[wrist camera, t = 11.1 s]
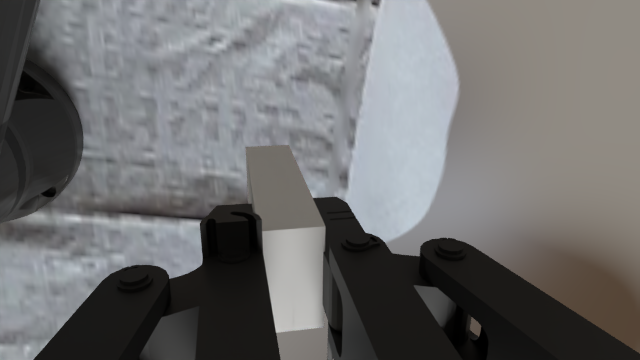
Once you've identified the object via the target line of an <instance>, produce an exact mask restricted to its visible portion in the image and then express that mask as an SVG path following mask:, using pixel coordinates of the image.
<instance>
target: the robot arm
mask: <svg viewBox="0 0 640 360" xmlns="http://www.w3.org/2000/svg"><path fill="white" fill-rule="evenodd" d="M39 4H40V0H0V223H2V222H6V221H10V220H14V219H17V218H21V217H24V216H27V215H29V214H32V213H34V212H36V211H38V210H40V209H42V208H43V207H45V206H46V205H48V204H49V203H50V202H52V201H53V200H54V199H55V198H56V197H57V196H58V195H59V194H60V193H61V192H62V191H63V190H64V189H65V188H66V186H67V185H68V184H69V183H70V181H71V180H72V178H73V177H74V175H75V173H76V171H77V169H78V167H79V164H80V161H81V157H82V151H83V134H82V128H81V123H80V120H79V117H78V114H77V112H76V110H75V107H74V105H73V104H72V102H71V100H70V98H69V97H68V95H67V94H66V93H65V91H64V90H63V89H62V88H61V86H60V85H59V84H58V83H57V82H56V81H55V80H54V79H53V78H52V77H51V76H50V75H49V74H48V73H46V72H45V71H44V70H43V69H41V68H40V67H38V66H37V65H35V64H34V63H32V62H31V61H29V60H27V59H26V55H27V51H28V47H29V43H30V39H31V35H32V31H33V27H34V23H35V20H36V16H37V12H38V8H39ZM246 165H247V186H248V204H236V205H220V206H216V207H215V208H214V209H213V210H212V211H211V212H210V213H209V215H208V216H206V217H205V218H203V219H202V221H201V223H200V231H201V243H202V254H203V262H202V265H201V266H200V267H198V268H197V269H196V270H194V271H192V272H190V273H188V274H185V275H182V276H179V277H175V278H171V279H169V275H168V274H167V272H166V270H164V269H162V268H160V267H158V266H152V265H134V266H131V267H125V268H123V269H121V270H119V271H116V272H114V273H112V274H110V275H109V276H108V277H107V278H105V279H104V280H103V281H102V282H101V283H100V284H99V285H98V286H97V288H96V289H95V290H94V291H93V292H92V293H91V294H90V296H89V297H88V298H87V299H86V300H85V301H84V302H83V304H82V305H81V306H80V307H79V308H78V309H77V311H76V312H75V313H74V314H73V315H72V316H71V317H70V319H69V320H68V321H67V322H66V323H65V324H64V325H63V327H62V328H61V329H60V330H59V331H58V332H57V333H56V335H55V336H54V337H53V338H52V339H51V340H50V341H49V343H48V344H47V345H46V346H45V347H44V348H43V349H42V351H41V352H40V353H39V354H38V355H37V356H36V357H35V359H34V360H280V354H279V348H278V342H277V336H276V332H286V331H294V330H303V329H312V328H320V327H324V310H325V313H326V316H327V319H328V356H327V357H328V358H327V360H332V359H334V360H640V354H639V353H638V352H636V351H635V350H633V349H632V348H630V347H629V346H627V345H625V344H624V343H622V342H621V341H619V340H618V339H616V338H615V337H613V336H611V335H610V334H608V333H607V332H605V331H604V330H602V329H601V328H599V327H597V326H596V325H594V324H593V323H591V322H590V321H588V320H587V319H585V318H583V317H582V316H580V315H579V314H577V313H576V312H574V311H572V310H571V309H569V308H567V307H566V306H565V305H563V304H562V303H560V302H559V301H557V300H555V299H554V298H552V297H551V296H549V295H548V294H546V293H545V292H543V291H541V290H540V289H538V288H537V287H535V286H534V285H532V284H531V283H529V282H527V281H526V280H524V279H523V278H521V277H520V276H518V275H516V274H515V273H513V272H511V271H510V270H509V269H507V268H506V267H504V266H503V265H501V264H499V263H498V262H496V261H495V260H493V259H492V258H490V257H489V256H487V255H485V254H484V253H482V252H481V251H479V250H477V249H476V248H474V247H473V246H471V245H469V244H467V243H465V242H462V241H458V240H456V239H452V238H448V239H447V238H440V239H432V240H429V241H426V242H425V243H423V245H422V246H421V248H420V256H409V255H399V254H393V253H391V251H390V250H389V248H388V247H387V245H386V244H385V242H384V241H383V240H381V239H380V238H379V237H377V236H374V235H372V234H368V233H365V231H364V230H363V228H362V227H361V225H360V223H359V222H358V220H357V219H356V217H355V215H354V214H353V212H352V210H351V209H350V207H349V205H348V204H347V203H346V202H344V201H343V200H341V199H339V198H337V197H325V198H312V195H311V193H310V191H309V189H308V187H307V184H306V182H305V180H304V178H303V176H302V173H301V171H300V169H299V167H298V165H297V162H296V160H295V158H294V156H293V154H292V151H291V149H290V147H289V145H280V146H257V147H246ZM471 317H473V318H474V319H475V320H476V321H478V322H479V324H480V325H481V332H480V336H479V337H478V336H477V335H475V334H474V333H473V332H472V331H470V324H471Z"/></svg>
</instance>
